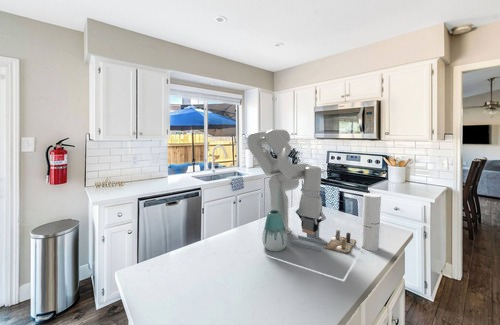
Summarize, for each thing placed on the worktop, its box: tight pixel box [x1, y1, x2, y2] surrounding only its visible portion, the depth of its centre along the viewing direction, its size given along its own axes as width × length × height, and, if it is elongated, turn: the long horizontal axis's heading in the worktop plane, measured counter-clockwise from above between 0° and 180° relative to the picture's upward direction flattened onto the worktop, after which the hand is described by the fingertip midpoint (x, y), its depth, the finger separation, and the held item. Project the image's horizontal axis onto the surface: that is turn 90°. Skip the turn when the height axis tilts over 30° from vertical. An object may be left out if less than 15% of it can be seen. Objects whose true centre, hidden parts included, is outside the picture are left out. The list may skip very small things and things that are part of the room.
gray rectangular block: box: [306, 223, 320, 240], centre depth 124 cm, size 5×4×10 cm
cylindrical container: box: [360, 192, 382, 252], centre depth 113 cm, size 7×7×25 cm
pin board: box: [324, 229, 357, 255], centre depth 116 cm, size 11×16×6 cm
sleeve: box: [301, 217, 315, 235], centre depth 116 cm, size 5×5×7 cm
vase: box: [261, 209, 288, 252], centre depth 113 cm, size 12×12×18 cm
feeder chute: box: [291, 234, 328, 252], centre depth 117 cm, size 14×8×2 cm, turn 54°
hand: (309, 229), depth 117 cm, fingers closed on sleeve, 5 cm apart
